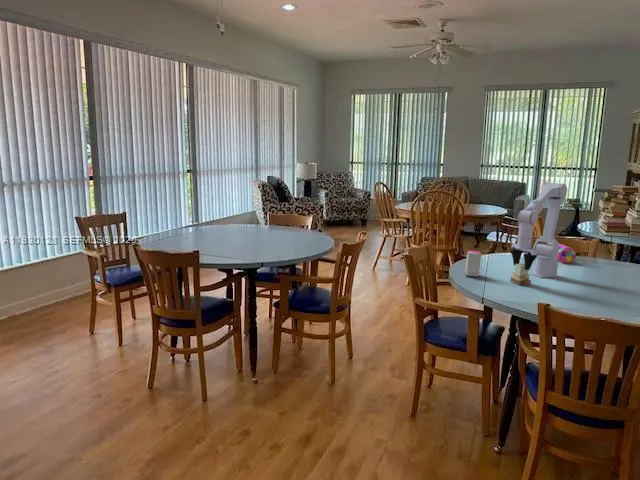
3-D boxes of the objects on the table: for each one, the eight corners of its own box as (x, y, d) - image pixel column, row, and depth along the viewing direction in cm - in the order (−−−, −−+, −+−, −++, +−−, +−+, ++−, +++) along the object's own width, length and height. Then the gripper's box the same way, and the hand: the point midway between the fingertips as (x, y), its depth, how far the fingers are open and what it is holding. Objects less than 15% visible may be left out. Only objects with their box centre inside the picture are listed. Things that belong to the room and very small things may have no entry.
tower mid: (521, 277, 224) (522, 271, 223) (528, 280, 219) (529, 274, 219) (512, 277, 223) (512, 272, 222) (519, 280, 218) (519, 275, 217)
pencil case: (540, 254, 281) (542, 239, 279) (556, 255, 281) (558, 239, 279) (559, 264, 260) (561, 247, 258) (576, 264, 260) (579, 247, 258)
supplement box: (478, 277, 228) (481, 253, 226) (465, 276, 229) (467, 252, 227) (477, 274, 233) (479, 251, 231) (464, 273, 235) (466, 250, 232)
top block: (522, 272, 222) (523, 263, 222) (527, 274, 219) (528, 265, 218) (514, 272, 222) (515, 263, 221) (519, 274, 218) (520, 266, 217)
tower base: (521, 282, 225) (522, 276, 224) (530, 285, 219) (530, 280, 219) (510, 282, 223) (510, 277, 223) (518, 286, 218) (519, 281, 217)
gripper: (507, 234, 222) (503, 263, 225) (528, 241, 209) (524, 272, 211) (520, 234, 224) (517, 263, 227) (542, 240, 210) (538, 271, 213)
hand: (521, 267), depth 219 cm, fingers open, 7 cm apart
